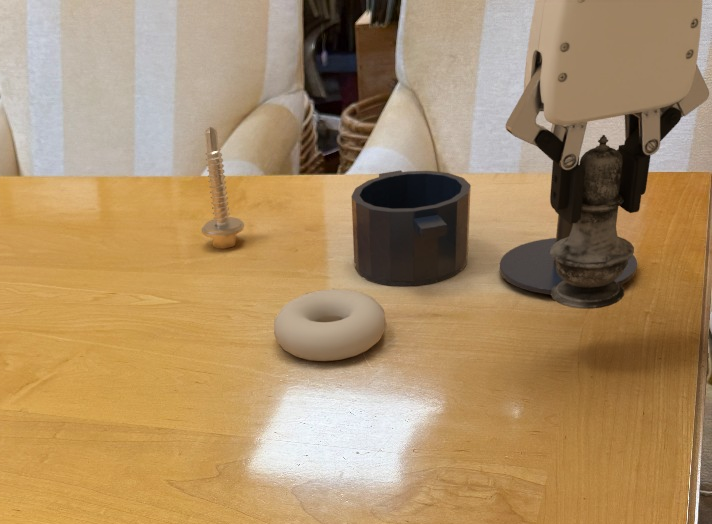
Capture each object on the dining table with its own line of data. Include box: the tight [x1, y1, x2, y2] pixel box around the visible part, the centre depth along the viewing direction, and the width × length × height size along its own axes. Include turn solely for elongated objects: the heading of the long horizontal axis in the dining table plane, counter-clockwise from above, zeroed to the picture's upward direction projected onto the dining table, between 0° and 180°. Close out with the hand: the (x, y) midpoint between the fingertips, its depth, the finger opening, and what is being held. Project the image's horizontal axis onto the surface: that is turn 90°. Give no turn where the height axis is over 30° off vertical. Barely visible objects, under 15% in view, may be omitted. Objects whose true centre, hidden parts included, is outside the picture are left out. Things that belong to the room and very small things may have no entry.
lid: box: [499, 214, 638, 295], centre depth 85 cm, size 12×12×7 cm
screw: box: [201, 126, 245, 250], centre depth 100 cm, size 13×5×5 cm
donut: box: [273, 288, 387, 362], centre depth 81 cm, size 10×4×10 cm
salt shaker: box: [550, 134, 635, 310], centre depth 67 cm, size 6×6×12 cm
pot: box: [351, 169, 472, 287], centre depth 91 cm, size 11×17×8 cm
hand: (595, 209), depth 67 cm, fingers closed on salt shaker, 3 cm apart
